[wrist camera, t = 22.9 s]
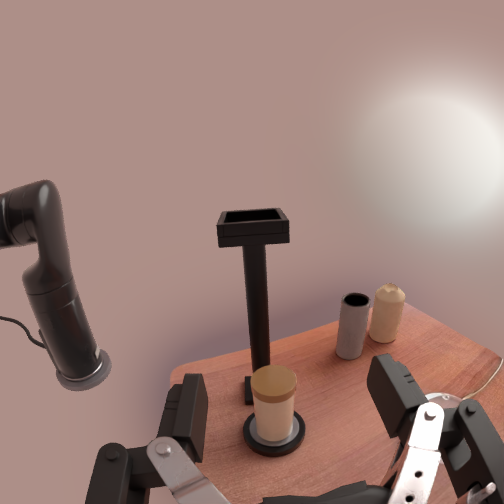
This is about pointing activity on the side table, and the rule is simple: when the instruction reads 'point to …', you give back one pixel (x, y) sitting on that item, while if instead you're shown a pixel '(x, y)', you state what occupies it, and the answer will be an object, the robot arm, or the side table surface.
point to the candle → (386, 313)
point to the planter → (352, 325)
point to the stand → (254, 271)
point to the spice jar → (273, 401)
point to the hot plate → (274, 447)
